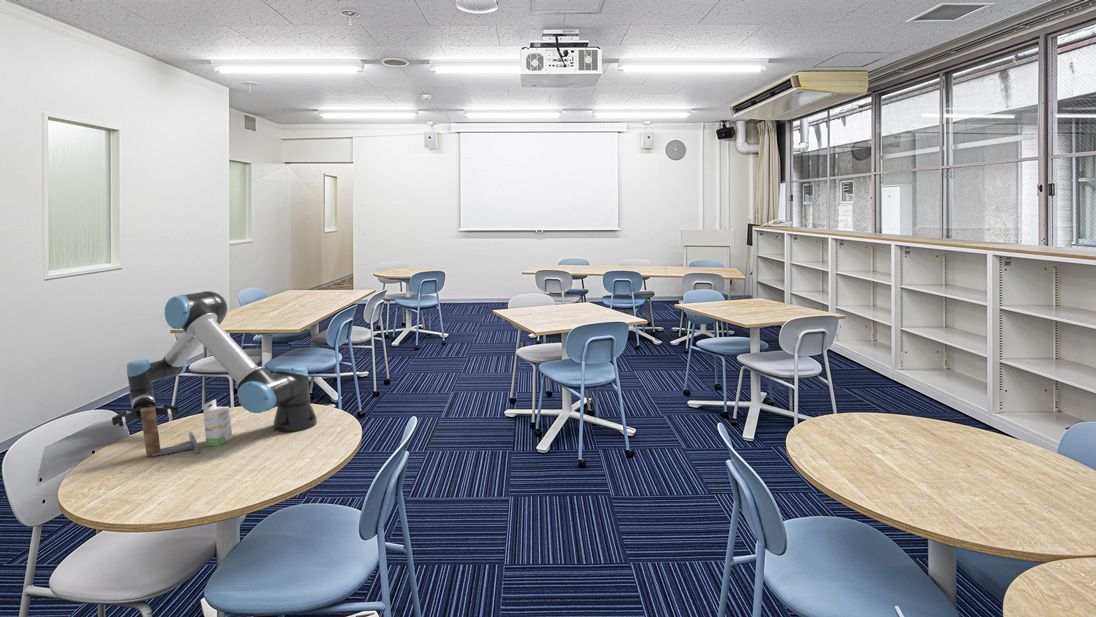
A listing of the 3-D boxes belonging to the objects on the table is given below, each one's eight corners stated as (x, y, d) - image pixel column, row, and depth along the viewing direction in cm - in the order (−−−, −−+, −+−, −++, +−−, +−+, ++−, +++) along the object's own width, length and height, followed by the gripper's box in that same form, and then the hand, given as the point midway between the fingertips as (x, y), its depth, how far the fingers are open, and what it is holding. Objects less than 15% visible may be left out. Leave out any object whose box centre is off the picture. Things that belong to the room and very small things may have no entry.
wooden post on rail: (192, 439, 223) (188, 396, 221) (198, 452, 210) (193, 407, 208) (145, 449, 215) (139, 404, 212) (148, 463, 202) (142, 416, 200)
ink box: (220, 446, 217) (215, 405, 215) (206, 446, 217) (201, 405, 215) (233, 437, 225) (229, 397, 223) (219, 437, 225) (215, 398, 223)
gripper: (183, 409, 242) (190, 424, 225) (104, 423, 227) (105, 439, 210) (181, 391, 240) (188, 404, 223) (102, 403, 226) (103, 418, 209)
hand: (148, 421), depth 217 cm, fingers open, 13 cm apart
